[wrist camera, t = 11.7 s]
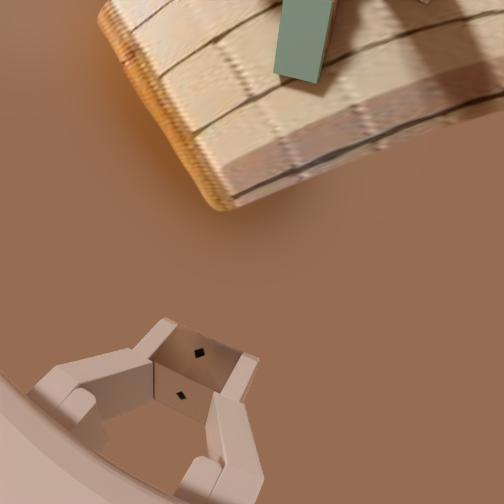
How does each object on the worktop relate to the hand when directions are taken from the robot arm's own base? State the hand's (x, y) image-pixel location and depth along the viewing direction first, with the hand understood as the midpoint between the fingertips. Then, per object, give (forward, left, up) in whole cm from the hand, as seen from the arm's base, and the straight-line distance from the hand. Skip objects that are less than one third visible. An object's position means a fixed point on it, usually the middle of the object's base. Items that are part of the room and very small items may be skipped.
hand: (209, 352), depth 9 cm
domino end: (+6, -10, -30) cm, 33 cm away
